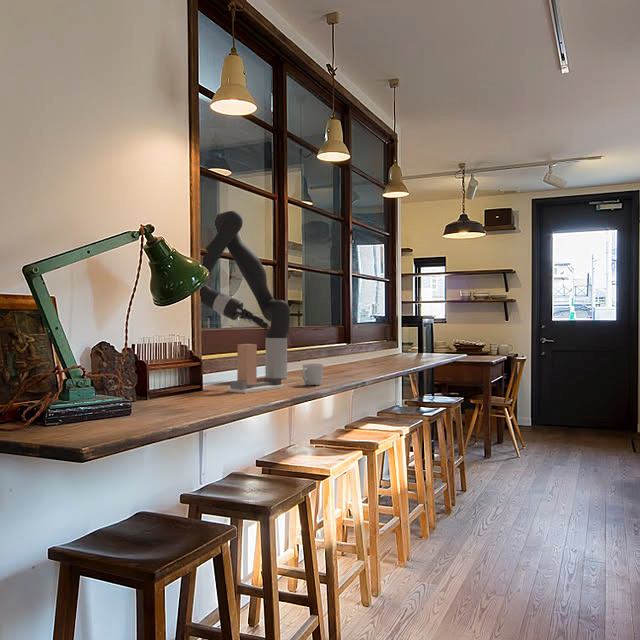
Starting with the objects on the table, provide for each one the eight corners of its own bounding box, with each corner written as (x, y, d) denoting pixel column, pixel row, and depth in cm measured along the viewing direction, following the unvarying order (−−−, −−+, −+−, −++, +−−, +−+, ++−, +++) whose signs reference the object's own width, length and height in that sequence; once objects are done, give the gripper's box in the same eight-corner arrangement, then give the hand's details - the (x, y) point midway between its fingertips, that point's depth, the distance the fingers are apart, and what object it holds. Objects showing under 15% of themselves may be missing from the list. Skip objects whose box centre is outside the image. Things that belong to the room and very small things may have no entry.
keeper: (246, 385, 208) (246, 344, 208) (237, 384, 211) (237, 344, 211) (256, 383, 212) (256, 344, 212) (247, 383, 215) (247, 343, 215)
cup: (311, 387, 223) (311, 365, 223) (294, 385, 228) (294, 364, 228) (327, 384, 232) (327, 364, 232) (310, 383, 237) (310, 363, 237)
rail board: (245, 393, 205) (245, 382, 205) (226, 391, 210) (226, 381, 210) (284, 387, 221) (285, 378, 221) (266, 385, 227) (266, 376, 227)
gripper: (227, 293, 220) (265, 312, 217) (237, 301, 234) (273, 319, 231) (217, 311, 220) (256, 330, 217) (228, 318, 233) (264, 336, 230)
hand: (265, 324), depth 224 cm, fingers open, 8 cm apart
